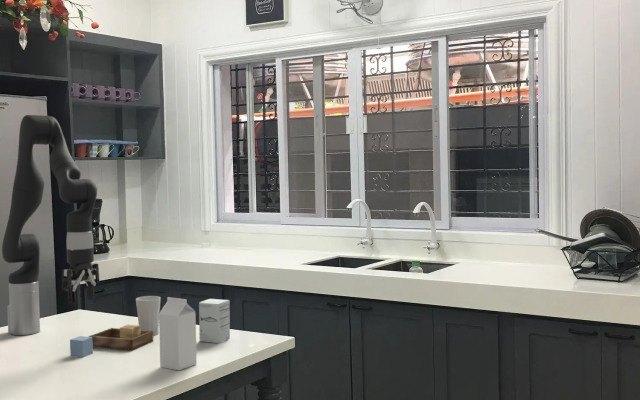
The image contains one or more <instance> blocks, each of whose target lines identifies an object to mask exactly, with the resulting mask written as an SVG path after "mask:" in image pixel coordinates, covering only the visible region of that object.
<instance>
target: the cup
mask: <svg viewBox="0 0 640 400" xmlns="http://www.w3.org/2000/svg"><path fill="white" fill-rule="evenodd" d="M135 304H136V311H137V323H138V325H141V330H144V331H153V337H154V336H158V335H160V334H159V313H160V311H161V309H160V308H161V296H158V295H144V296H139V297H136V298H135Z"/></svg>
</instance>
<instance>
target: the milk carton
mask: <svg viewBox="0 0 640 400" xmlns="http://www.w3.org/2000/svg"><path fill="white" fill-rule="evenodd" d="M166 299H167V301H166V303H165V304H164V305H163V307H162V309H160V310H159V334H158V335H159V362H160V363H159V364H160V368H165V369H170V370H175V371H181V370H184V369H186V368H189V367H192V366H195V365H197V362H198V361H197V327H196V325H197V323H196V322H197V321H196V318H197V317H196V311H195V309H194V308H192V306H190V305H189V303H187V300H188V299H186V298H179V297H178V298H177V297H171V296H170V297H169V296H168V297H167V298H166Z"/></svg>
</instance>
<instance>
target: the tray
mask: <svg viewBox="0 0 640 400" xmlns="http://www.w3.org/2000/svg"><path fill="white" fill-rule="evenodd" d="M87 337H92V340H93V348H95V349H96V348H99V349H110V350H120V351H132V352H133V351H134V350H137V349H139V348H141V347H143V346H146V345H148V344H151V343H153V342H154V336H153V331H144V330H141V335H140V336H137V337H135V338H132V339H124V338H120V328H114V327H110V328H108V329H105V330H102V331H99V332H97V333H94V334H91V335H89V336H88V335H87Z"/></svg>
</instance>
